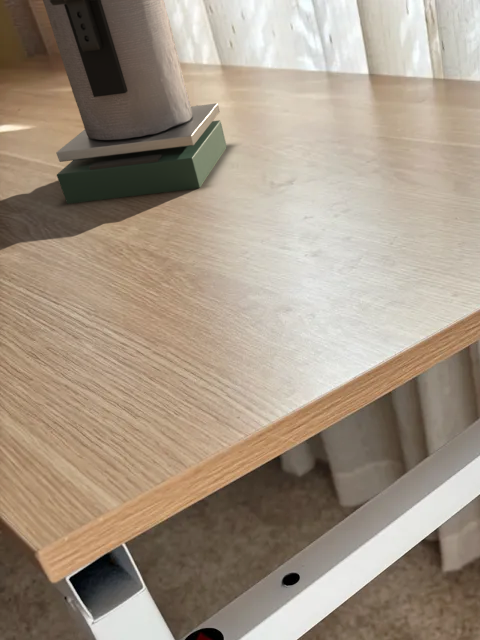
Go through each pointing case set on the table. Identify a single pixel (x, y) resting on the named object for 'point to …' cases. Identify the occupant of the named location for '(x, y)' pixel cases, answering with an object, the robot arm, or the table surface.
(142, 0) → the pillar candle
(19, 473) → the table surface
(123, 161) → the scale
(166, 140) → the pan
